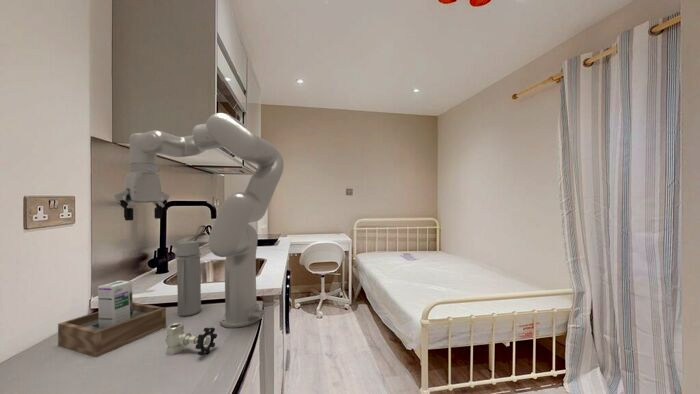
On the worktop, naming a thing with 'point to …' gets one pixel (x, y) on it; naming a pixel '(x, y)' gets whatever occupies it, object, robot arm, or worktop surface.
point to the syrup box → (115, 303)
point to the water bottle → (188, 278)
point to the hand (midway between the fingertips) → (144, 219)
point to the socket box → (109, 330)
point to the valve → (188, 339)
